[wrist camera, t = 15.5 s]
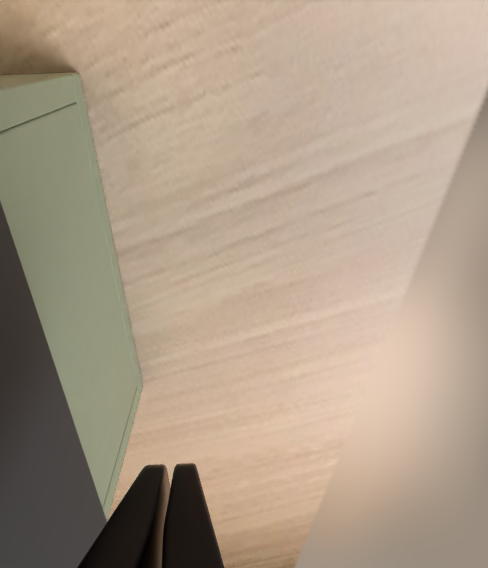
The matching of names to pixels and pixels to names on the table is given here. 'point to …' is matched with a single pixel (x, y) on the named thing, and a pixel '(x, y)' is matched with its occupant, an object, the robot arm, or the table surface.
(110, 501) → the open box
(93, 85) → the table surface
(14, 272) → the box lid
